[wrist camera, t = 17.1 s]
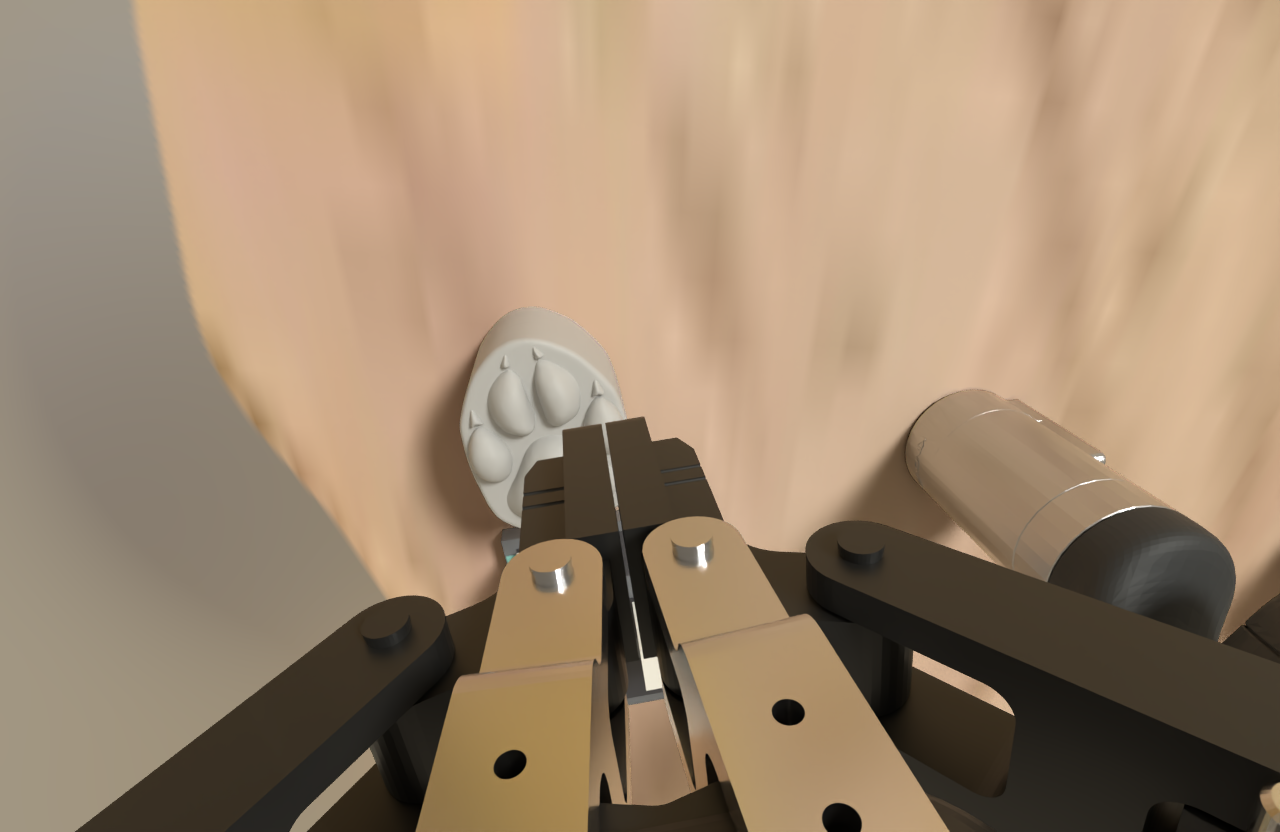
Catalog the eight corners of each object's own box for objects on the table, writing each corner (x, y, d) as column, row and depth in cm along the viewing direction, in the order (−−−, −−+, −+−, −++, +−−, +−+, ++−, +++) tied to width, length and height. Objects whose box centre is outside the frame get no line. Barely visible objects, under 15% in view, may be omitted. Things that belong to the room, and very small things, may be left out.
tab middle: (680, 593, 55) (693, 641, 50) (685, 631, 57) (698, 681, 52) (631, 602, 55) (640, 650, 50) (638, 639, 57) (646, 690, 52)
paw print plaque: (503, 486, 52) (494, 554, 44) (445, 326, 47) (424, 371, 39) (636, 453, 52) (651, 514, 44) (594, 289, 47) (603, 326, 39)
